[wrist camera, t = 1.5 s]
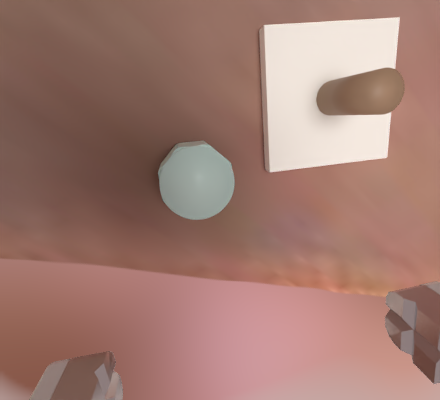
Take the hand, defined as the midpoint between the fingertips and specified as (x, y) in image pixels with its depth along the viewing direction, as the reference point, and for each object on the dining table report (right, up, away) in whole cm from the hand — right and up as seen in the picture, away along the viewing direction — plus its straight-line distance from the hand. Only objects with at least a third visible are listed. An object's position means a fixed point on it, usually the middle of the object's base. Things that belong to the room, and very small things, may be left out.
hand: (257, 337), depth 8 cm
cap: (-4, +7, +20) cm, 21 cm away
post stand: (+9, +14, +20) cm, 26 cm away
